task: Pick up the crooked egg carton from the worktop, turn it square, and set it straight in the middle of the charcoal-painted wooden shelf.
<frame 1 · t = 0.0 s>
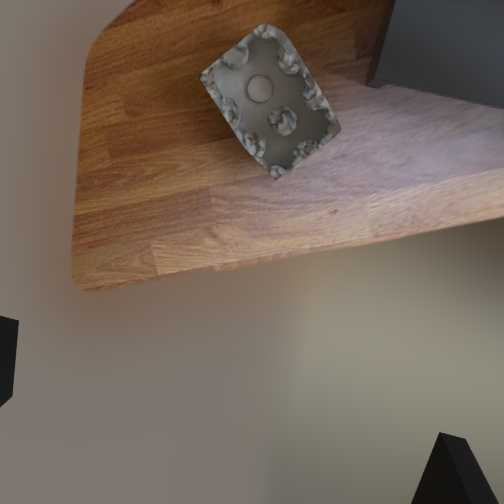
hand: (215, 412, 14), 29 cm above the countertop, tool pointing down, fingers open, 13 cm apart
egg carton: (274, 104, 39), on the countertop
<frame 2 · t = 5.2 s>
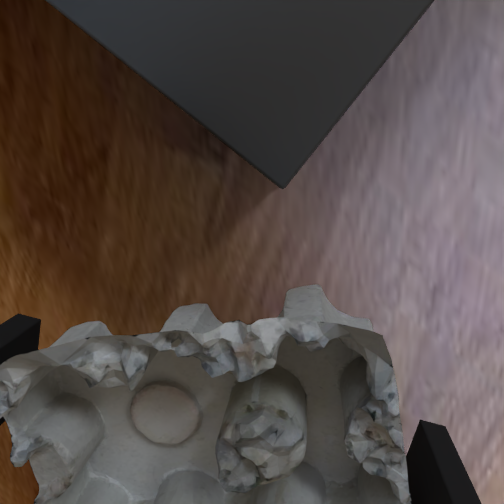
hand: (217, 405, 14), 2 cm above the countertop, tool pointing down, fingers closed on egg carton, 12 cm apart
egg carton: (216, 394, 15), point 1 cm above the countertop, touching gripper
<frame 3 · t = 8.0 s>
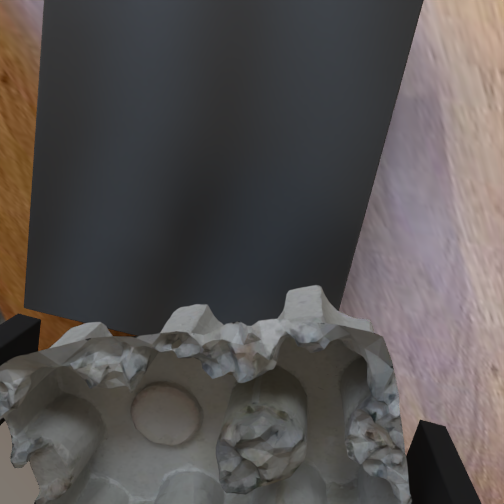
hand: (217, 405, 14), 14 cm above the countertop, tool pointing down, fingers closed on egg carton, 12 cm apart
shelf: (219, 164, 26), on the countertop
egg carton: (217, 395, 15), point 14 cm above the countertop, touching gripper
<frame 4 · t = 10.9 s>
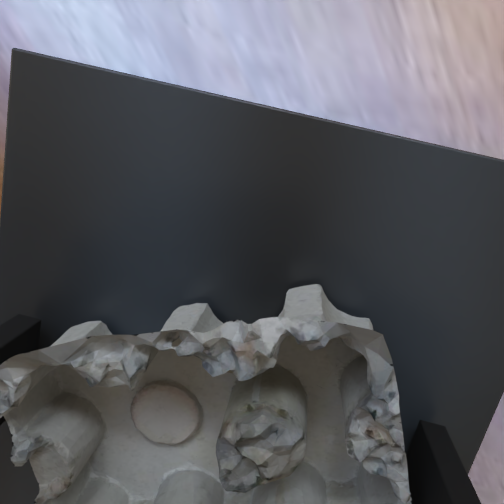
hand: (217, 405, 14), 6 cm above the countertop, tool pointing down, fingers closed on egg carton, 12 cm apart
shelf: (247, 327, 20), on the countertop
egg carton: (217, 394, 15), point 6 cm above the countertop, touching gripper
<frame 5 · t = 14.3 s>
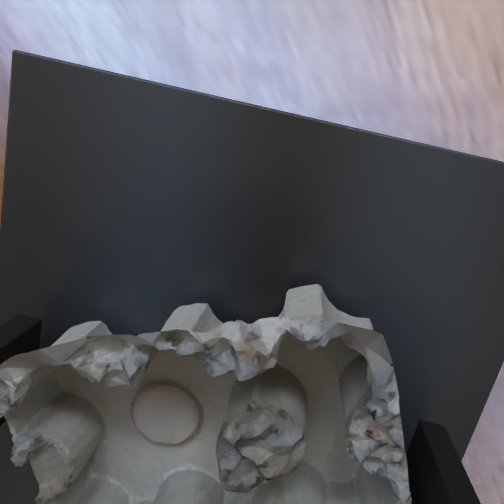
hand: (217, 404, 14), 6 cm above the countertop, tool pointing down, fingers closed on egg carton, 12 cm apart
shelf: (243, 324, 20), on the countertop
egg carton: (217, 394, 15), point 6 cm above the countertop, touching gripper
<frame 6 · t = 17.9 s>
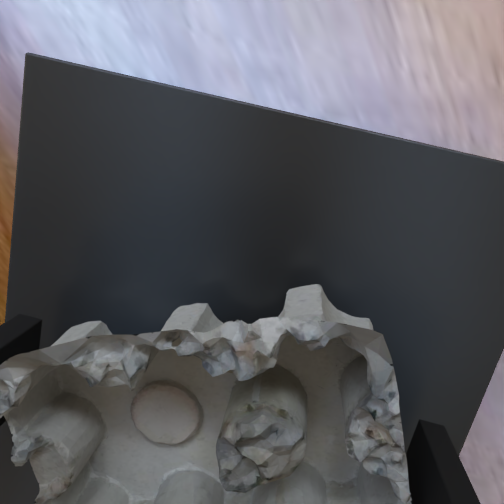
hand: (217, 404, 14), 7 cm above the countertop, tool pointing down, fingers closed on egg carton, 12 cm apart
shelf: (247, 320, 21), on the countertop
egg carton: (217, 394, 15), point 6 cm above the countertop, touching gripper
when the fingers open (7 cm above the countertop, at t = 20.7 s): egg carton stays where it is, resting on shelf.
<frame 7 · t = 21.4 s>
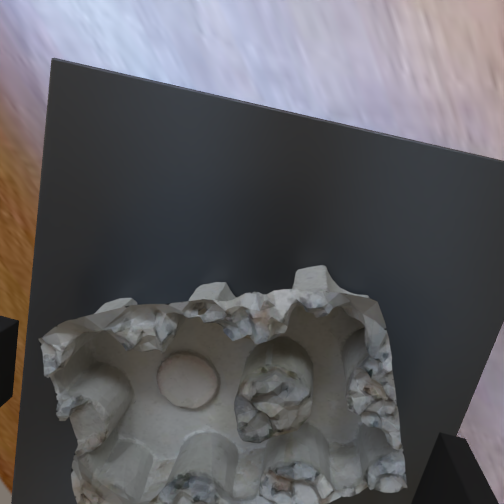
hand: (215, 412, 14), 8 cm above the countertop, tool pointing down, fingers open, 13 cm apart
shelf: (255, 311, 22), on the countertop
egg carton: (233, 364, 16), point 5 cm above the countertop, touching shelf
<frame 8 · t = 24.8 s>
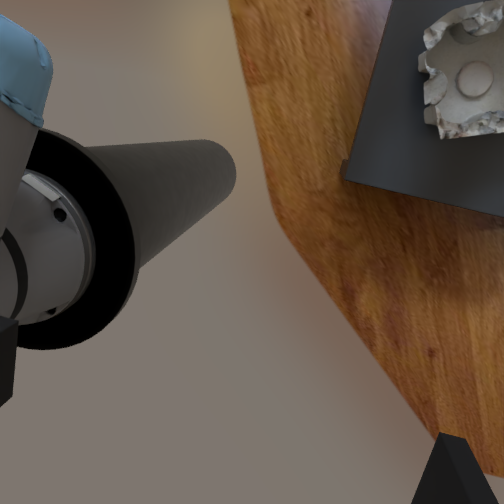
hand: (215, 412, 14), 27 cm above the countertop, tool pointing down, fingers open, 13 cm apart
shelf: (473, 81, 35), on the countertop
egg carton: (499, 70, 30), point 5 cm above the countertop, touching shelf
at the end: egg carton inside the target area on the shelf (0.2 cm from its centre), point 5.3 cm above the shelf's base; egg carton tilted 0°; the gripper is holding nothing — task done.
